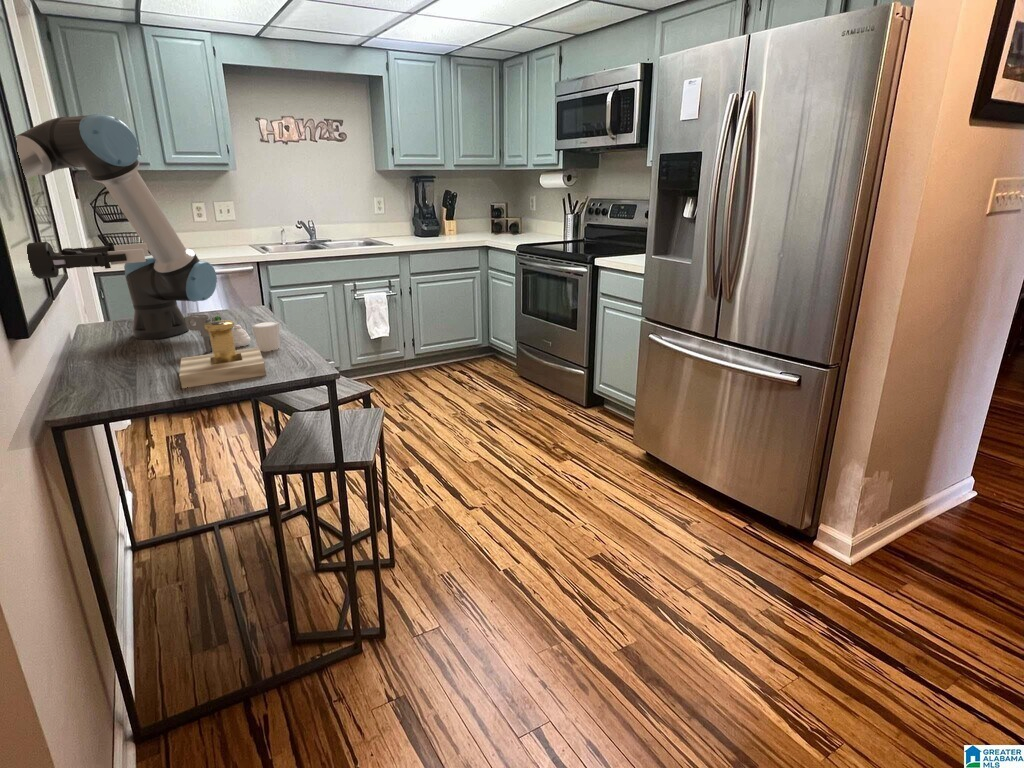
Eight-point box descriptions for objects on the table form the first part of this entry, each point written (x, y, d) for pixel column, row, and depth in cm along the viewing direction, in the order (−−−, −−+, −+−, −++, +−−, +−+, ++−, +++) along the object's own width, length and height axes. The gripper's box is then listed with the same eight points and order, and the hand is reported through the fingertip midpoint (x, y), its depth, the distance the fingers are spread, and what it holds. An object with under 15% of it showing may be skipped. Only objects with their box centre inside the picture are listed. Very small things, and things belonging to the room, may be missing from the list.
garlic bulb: (234, 322, 171) (251, 322, 170) (238, 342, 173) (255, 342, 172) (222, 327, 166) (240, 327, 165) (226, 347, 168) (244, 348, 167)
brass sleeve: (213, 369, 148) (203, 321, 144) (241, 365, 151) (232, 318, 147) (214, 376, 143) (204, 327, 139) (243, 372, 146) (234, 323, 141)
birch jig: (183, 369, 149) (181, 358, 148) (260, 358, 156) (258, 347, 155) (182, 388, 135) (179, 375, 134) (266, 375, 143) (264, 363, 142)
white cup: (284, 344, 169) (280, 320, 167) (279, 351, 162) (275, 326, 160) (259, 346, 168) (254, 321, 166) (253, 352, 161) (248, 327, 159)
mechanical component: (222, 353, 162) (215, 317, 158) (189, 352, 164) (181, 316, 160) (229, 350, 164) (222, 314, 161) (196, 349, 166) (189, 314, 163)
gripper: (47, 271, 138) (152, 262, 147) (23, 287, 117) (147, 276, 127) (37, 238, 136) (144, 230, 145) (11, 249, 115) (138, 239, 124)
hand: (146, 251), depth 136 cm, fingers open, 13 cm apart
